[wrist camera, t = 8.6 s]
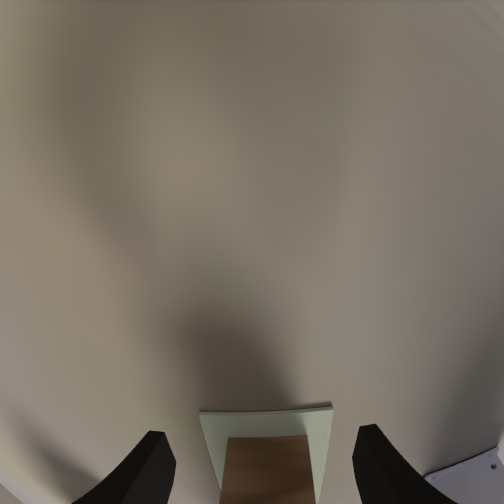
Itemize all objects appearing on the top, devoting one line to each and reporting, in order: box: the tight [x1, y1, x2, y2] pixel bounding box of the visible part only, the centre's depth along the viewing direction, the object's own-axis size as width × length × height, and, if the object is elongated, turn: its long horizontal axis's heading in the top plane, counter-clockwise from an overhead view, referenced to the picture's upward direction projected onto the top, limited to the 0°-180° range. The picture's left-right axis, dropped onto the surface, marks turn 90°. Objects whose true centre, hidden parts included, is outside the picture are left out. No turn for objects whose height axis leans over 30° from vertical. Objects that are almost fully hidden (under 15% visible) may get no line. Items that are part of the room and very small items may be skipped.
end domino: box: [219, 435, 316, 504], centre depth 13 cm, size 5×2×9 cm, turn 94°
